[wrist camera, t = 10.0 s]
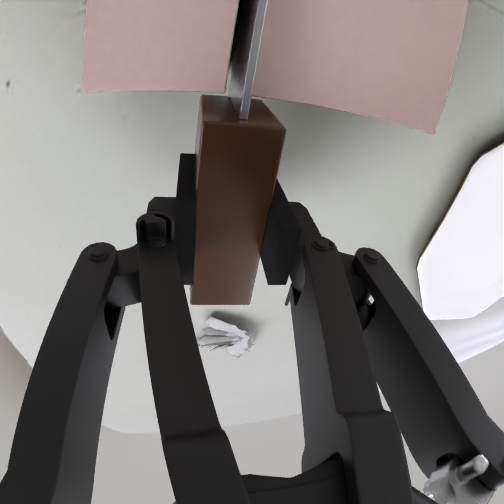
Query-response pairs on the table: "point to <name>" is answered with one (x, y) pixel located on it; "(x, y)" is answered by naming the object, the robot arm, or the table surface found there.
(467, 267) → the plate
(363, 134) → the table surface
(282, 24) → the cake
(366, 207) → the table surface
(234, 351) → the flower
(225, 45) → the cake slice
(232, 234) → the cake knife
